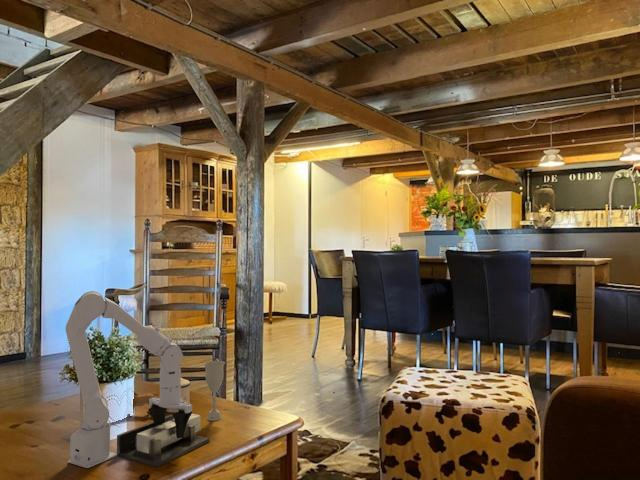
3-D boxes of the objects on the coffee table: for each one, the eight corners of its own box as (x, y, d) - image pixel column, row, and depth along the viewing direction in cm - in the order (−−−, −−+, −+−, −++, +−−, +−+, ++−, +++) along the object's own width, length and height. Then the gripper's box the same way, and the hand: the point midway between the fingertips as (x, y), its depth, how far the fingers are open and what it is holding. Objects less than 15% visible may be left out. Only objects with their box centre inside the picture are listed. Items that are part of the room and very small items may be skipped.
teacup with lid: (165, 405, 188) (166, 372, 188) (192, 404, 188) (192, 371, 188) (158, 416, 176) (158, 381, 176) (186, 415, 176) (186, 380, 176)
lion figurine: (117, 419, 173) (117, 391, 173) (117, 414, 178) (117, 387, 178) (164, 414, 177) (164, 387, 178) (163, 409, 182) (163, 383, 183)
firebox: (157, 467, 135) (157, 445, 135) (116, 455, 143) (117, 435, 143) (209, 441, 153) (209, 422, 153) (171, 432, 160) (171, 414, 160)
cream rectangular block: (148, 453, 139) (148, 436, 139) (136, 450, 141) (136, 433, 141) (200, 430, 157) (200, 415, 157) (189, 427, 159) (189, 412, 159)
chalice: (222, 421, 170) (222, 365, 170) (201, 421, 170) (201, 365, 170) (226, 414, 177) (227, 360, 178) (206, 414, 177) (206, 360, 178)
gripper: (199, 386, 149) (199, 434, 149) (161, 379, 156) (161, 425, 156) (181, 392, 143) (181, 442, 143) (143, 385, 150) (143, 433, 150)
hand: (170, 434), depth 149 cm, fingers open, 7 cm apart
